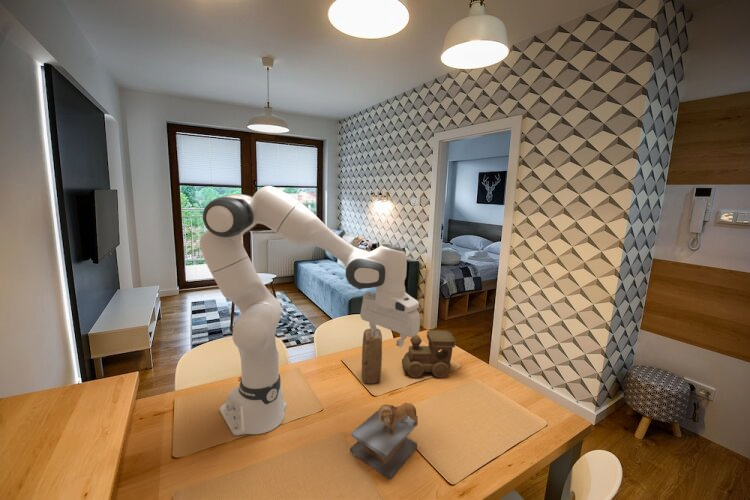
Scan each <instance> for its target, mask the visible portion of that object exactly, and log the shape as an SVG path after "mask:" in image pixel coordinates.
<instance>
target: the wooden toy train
mask: <svg viewBox="0 0 750 500" xmlns="http://www.w3.org/2000/svg"><path fill="white" fill-rule="evenodd" d="M426 338H427V340H428V345H421V344H422V341H423V340H422V338H421V337H420V335H418V334H417V335H415V336H413V337H410V343H411V345H409V346H408V351H407V352H406V353H405V354H404V356H403V358H402V359H401V363H402V364H401V365H402V368H403V371H404V372H406V373H407V375H408V376H409V377H411V378H413V379H414V378H415V379H417V378H420V377H421V376H422V375H423V374H424V372H431V373H432V375H433V376H434V377H435V378H439V379H441V378H442V379H443V378H445V377H446V376H447V375H448V374H449V372H451V366H452V365H451V361H452V357H453V356H452V355H453V348H456V338H455V336H453V334H452V332H451V331H449V330H437V329H436V330H435V329H433V330H431V329H429V330H427V331H426Z"/></svg>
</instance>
